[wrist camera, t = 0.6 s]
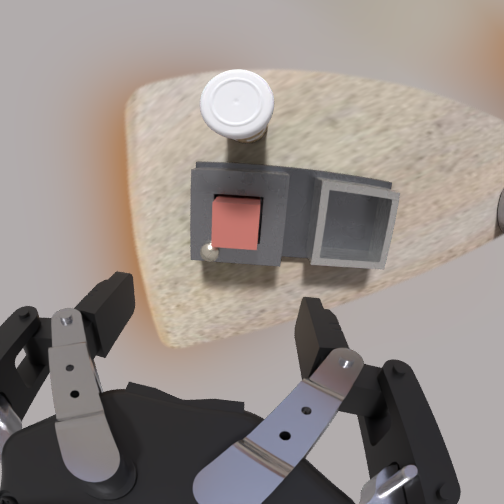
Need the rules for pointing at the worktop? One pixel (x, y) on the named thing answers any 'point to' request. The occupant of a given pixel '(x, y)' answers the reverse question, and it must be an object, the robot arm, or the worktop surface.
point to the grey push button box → (297, 215)
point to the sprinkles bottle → (237, 105)
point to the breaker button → (235, 221)
